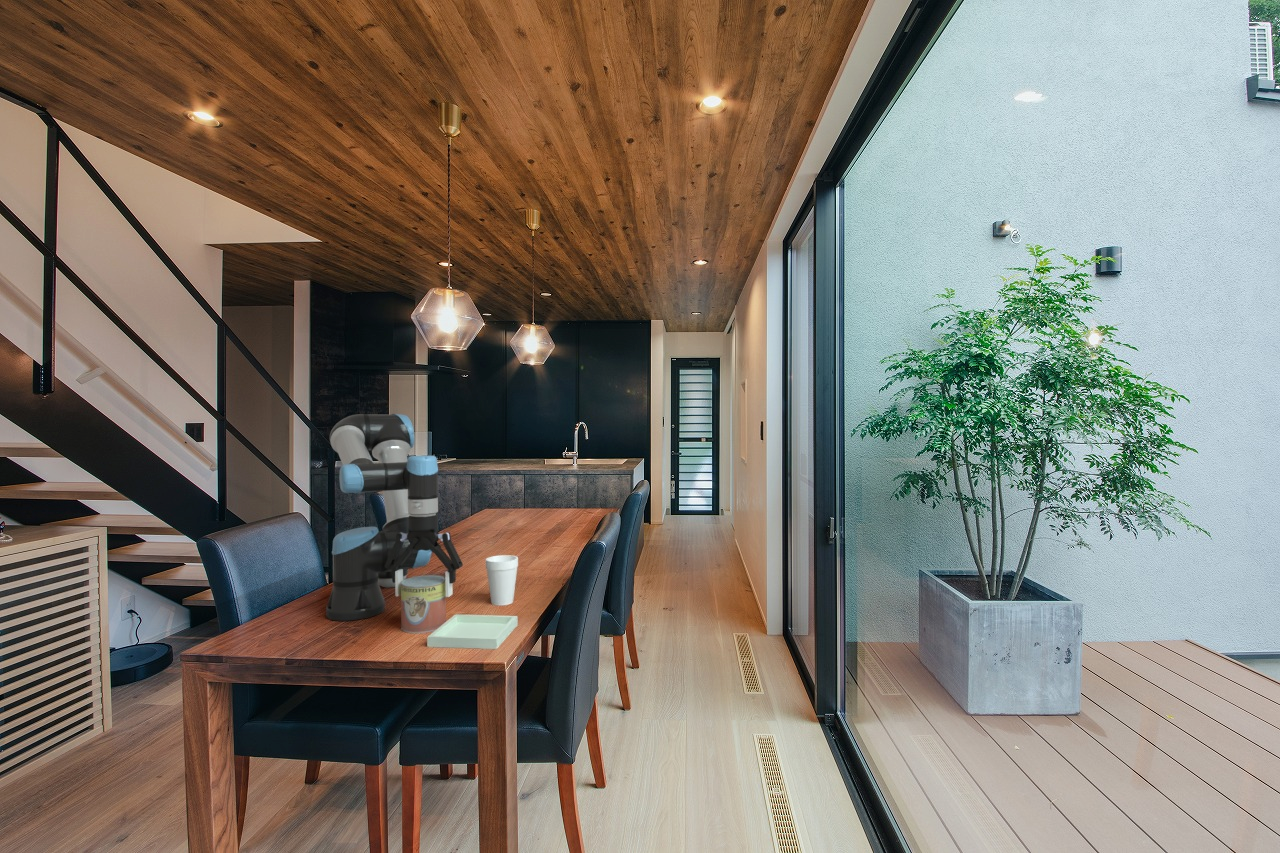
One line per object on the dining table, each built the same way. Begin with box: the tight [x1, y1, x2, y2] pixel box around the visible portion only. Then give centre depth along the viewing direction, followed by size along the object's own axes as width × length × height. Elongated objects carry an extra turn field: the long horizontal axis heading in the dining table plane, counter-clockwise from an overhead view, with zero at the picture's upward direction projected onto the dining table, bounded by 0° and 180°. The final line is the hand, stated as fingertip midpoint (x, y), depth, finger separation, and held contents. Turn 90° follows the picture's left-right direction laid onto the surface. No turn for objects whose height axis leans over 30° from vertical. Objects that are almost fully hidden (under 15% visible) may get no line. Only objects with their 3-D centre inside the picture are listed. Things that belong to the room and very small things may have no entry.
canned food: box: [400, 574, 447, 634], centre depth 163 cm, size 11×11×12 cm
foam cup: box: [485, 554, 519, 606], centre depth 183 cm, size 10×9×13 cm
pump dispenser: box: [378, 569, 409, 589], centre depth 202 cm, size 10×10×15 cm
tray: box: [426, 613, 519, 650], centre depth 155 cm, size 17×17×2 cm
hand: (424, 595), depth 162 cm, fingers open, 13 cm apart
